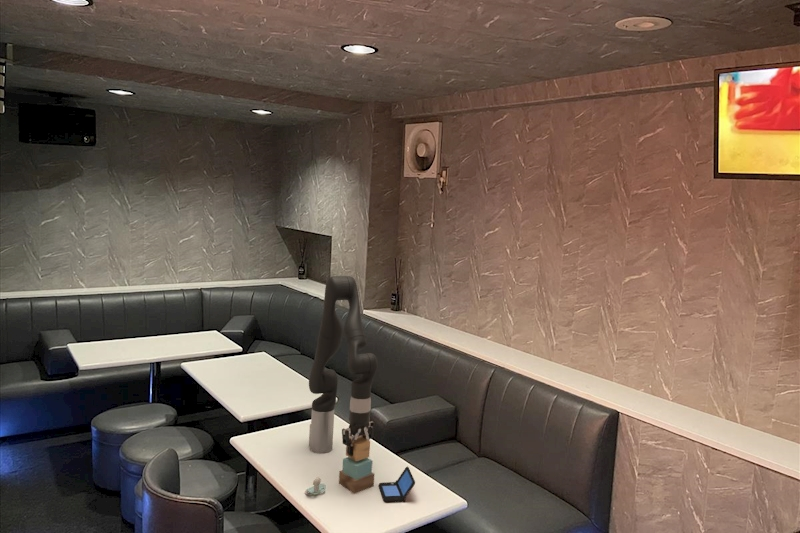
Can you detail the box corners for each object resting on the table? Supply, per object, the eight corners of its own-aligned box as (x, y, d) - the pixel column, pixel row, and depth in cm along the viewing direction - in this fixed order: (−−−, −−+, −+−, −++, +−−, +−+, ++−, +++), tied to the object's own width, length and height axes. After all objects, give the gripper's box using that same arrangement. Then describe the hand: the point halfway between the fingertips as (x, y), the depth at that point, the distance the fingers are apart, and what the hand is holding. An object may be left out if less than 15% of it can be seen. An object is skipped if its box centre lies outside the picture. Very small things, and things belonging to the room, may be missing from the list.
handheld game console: (377, 485, 205) (379, 466, 204) (406, 484, 207) (407, 465, 206) (383, 503, 193) (385, 483, 192) (414, 502, 195) (415, 482, 194)
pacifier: (300, 493, 196) (311, 499, 192) (301, 476, 196) (312, 482, 192) (317, 486, 202) (328, 492, 198) (317, 469, 201) (328, 475, 197)
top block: (342, 471, 203) (343, 458, 203) (358, 465, 209) (358, 453, 208) (355, 479, 198) (356, 466, 197) (371, 473, 203) (372, 460, 203)
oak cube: (345, 455, 203) (346, 439, 202) (358, 450, 207) (359, 435, 206) (356, 461, 199) (357, 445, 198) (369, 456, 203) (370, 441, 202)
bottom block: (338, 484, 204) (339, 471, 204) (357, 477, 210) (358, 464, 210) (354, 494, 198) (355, 481, 197) (373, 486, 204) (374, 473, 203)
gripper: (368, 401, 209) (366, 444, 210) (337, 409, 199) (335, 454, 201) (382, 407, 203) (379, 451, 205) (350, 415, 193) (348, 462, 195)
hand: (357, 452), depth 203 cm, fingers closed on oak cube, 6 cm apart
